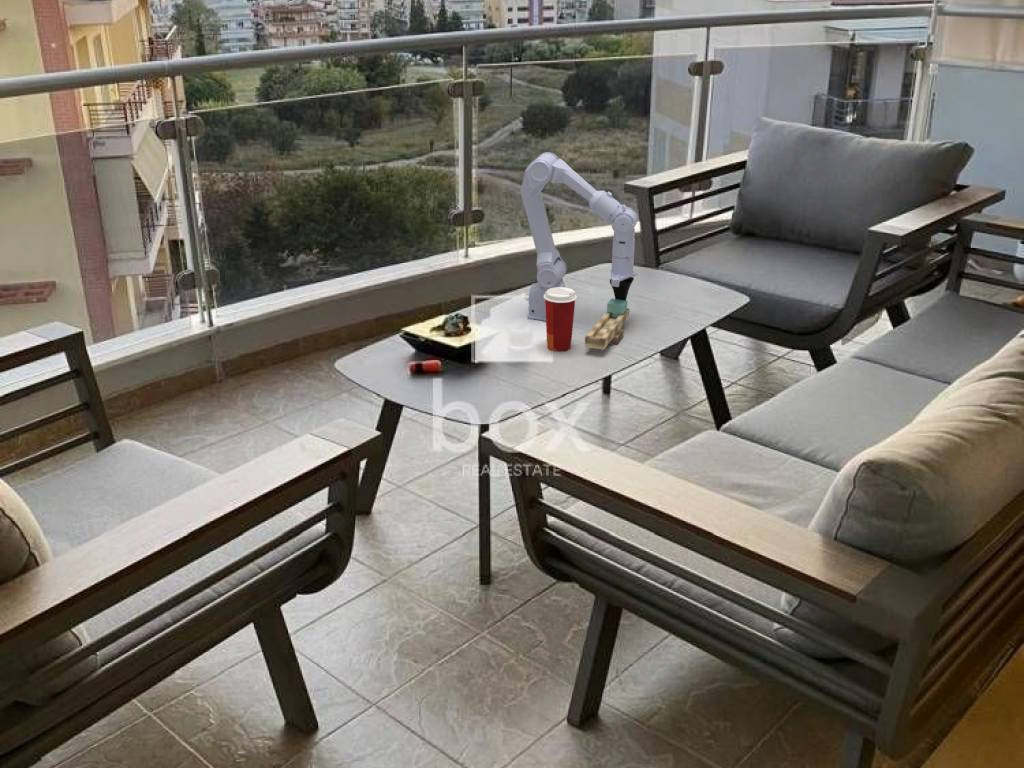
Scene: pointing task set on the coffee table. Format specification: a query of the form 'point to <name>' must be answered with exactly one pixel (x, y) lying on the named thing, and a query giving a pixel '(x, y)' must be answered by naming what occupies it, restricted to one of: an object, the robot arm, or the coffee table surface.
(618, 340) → the tan wooden slatted block
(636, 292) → the coffee table surface
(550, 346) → the coffee cup
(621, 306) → the teal cube
